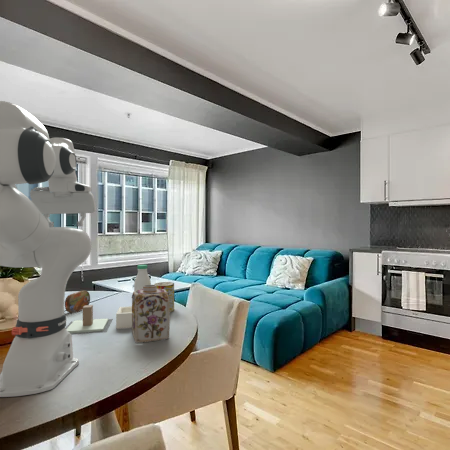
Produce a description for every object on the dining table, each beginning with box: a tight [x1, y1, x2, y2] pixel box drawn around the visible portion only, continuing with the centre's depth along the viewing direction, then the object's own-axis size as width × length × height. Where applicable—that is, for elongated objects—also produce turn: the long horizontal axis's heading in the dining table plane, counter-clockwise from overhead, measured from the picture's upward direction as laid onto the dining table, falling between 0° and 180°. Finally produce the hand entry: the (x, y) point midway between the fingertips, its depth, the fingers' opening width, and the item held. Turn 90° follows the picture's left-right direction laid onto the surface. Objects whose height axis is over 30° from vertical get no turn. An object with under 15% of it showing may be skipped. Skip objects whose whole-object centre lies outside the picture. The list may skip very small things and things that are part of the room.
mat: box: [65, 318, 113, 336], centre depth 122 cm, size 16×16×1 cm
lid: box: [66, 304, 109, 333], centre depth 122 cm, size 13×13×8 cm
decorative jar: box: [131, 284, 171, 344], centre depth 113 cm, size 12×12×18 cm
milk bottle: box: [133, 264, 152, 292], centre depth 151 cm, size 8×8×20 cm
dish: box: [115, 305, 132, 330], centre depth 125 cm, size 10×10×6 cm
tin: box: [64, 290, 91, 314], centre depth 147 cm, size 15×3×8 cm, turn 168°
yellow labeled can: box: [153, 281, 175, 313], centre depth 147 cm, size 9×9×12 cm
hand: (65, 226), depth 111 cm, fingers open, 8 cm apart
